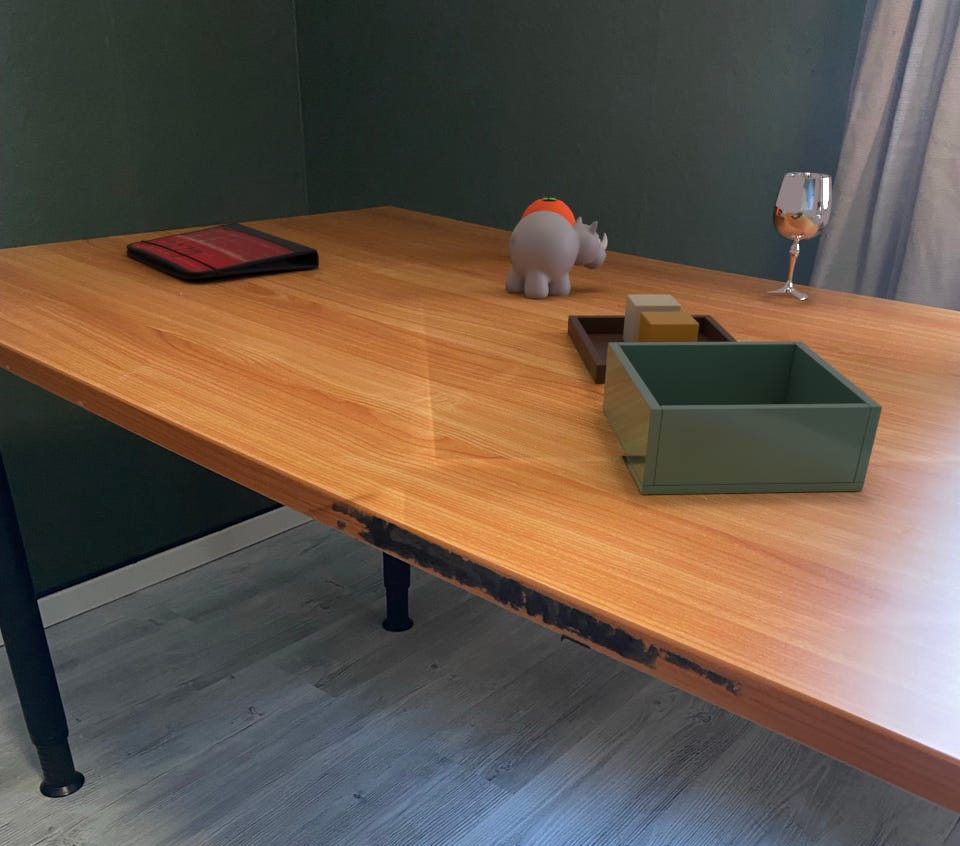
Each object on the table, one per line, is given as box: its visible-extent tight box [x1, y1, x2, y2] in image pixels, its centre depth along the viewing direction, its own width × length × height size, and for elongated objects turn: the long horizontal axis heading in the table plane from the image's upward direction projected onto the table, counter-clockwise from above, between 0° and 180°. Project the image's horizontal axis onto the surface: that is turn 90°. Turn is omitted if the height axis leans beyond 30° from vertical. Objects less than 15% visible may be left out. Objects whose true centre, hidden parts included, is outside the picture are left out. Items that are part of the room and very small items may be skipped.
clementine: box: [520, 196, 576, 226], centre depth 122 cm, size 8×7×7 cm
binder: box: [125, 221, 320, 280], centre depth 119 cm, size 16×2×21 cm
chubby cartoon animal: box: [504, 211, 608, 300], centre depth 105 cm, size 7×12×8 cm, turn 119°
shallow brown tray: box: [567, 314, 739, 385], centre depth 86 cm, size 13×15×2 cm
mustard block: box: [638, 310, 699, 342], centre depth 83 cm, size 4×4×4 cm
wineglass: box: [766, 171, 833, 301], centre depth 105 cm, size 6×6×12 cm
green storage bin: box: [602, 340, 883, 496], centre depth 68 cm, size 14×14×6 cm
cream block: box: [623, 293, 682, 342], centre depth 88 cm, size 4×4×4 cm
